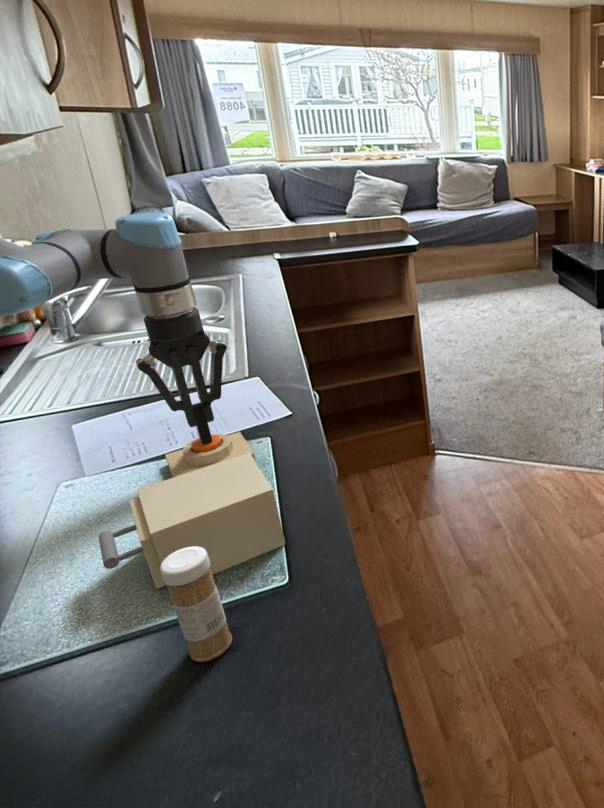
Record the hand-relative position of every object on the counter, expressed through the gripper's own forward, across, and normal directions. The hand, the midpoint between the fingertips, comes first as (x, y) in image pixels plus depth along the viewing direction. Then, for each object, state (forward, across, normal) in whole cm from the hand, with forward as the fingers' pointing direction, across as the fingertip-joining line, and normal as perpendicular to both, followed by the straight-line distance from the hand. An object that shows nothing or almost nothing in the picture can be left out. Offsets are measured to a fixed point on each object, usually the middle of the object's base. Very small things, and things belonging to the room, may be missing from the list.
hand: (206, 439), depth 112 cm
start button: (+2, 0, 0) cm, 2 cm away
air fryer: (+5, -4, -24) cm, 25 cm away
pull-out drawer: (+4, -8, -24) cm, 26 cm away
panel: (+5, 0, 0) cm, 5 cm away
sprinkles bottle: (+5, -9, -44) cm, 45 cm away
